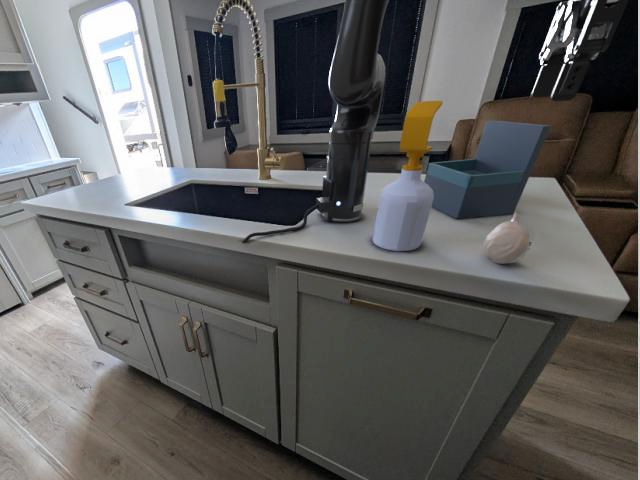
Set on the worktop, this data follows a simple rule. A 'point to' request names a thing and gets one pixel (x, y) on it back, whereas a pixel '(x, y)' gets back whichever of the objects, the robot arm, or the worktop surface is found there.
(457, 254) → the worktop surface
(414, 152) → the soap bottle
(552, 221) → the worktop surface
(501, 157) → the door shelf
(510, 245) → the garlic bulb
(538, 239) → the worktop surface
